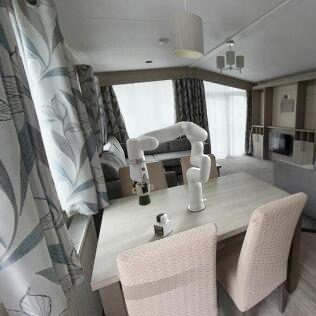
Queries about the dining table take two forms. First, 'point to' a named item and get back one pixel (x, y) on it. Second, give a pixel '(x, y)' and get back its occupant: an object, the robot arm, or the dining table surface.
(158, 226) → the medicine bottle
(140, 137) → the robot arm
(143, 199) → the character mug
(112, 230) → the dining table surface
